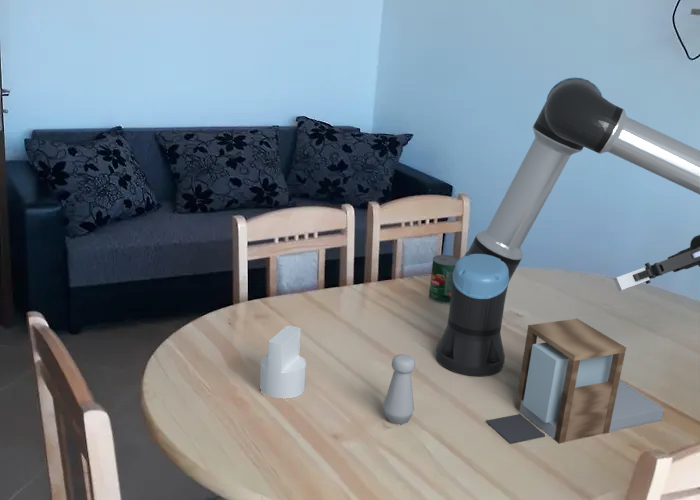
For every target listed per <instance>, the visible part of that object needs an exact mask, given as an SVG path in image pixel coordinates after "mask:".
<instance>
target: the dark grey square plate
mask: <svg viewBox="0 0 700 500" xmlns="http://www.w3.org/2000/svg"><path fill="white" fill-rule="evenodd" d="M485 423H486V424H487V425H489V426H490V428H492V429H493V430H494V431H495V432H496V433H497V434H498V435H500V436H501V437H502V439H504V440H505V441H506V442H508V444H510V445H512V444H516V443H522V442H525V441H531V440H535V439H540V438H544V437H546V434H545V433H543V431H541V430H540V428H537V426H535V425H534V424H533V423H531V422H530V421H529V419H528V418H526V417H525V416H523V415H522V414H521V413H518V414H517V413H516V414H511V415H508V416H502V417H495V418H492V419H491V418H490V419H486V420H485Z"/></svg>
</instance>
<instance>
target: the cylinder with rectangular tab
mask: <svg viewBox="0 0 700 500" xmlns="http://www.w3.org/2000/svg"><path fill="white" fill-rule="evenodd" d="M301 330H302V328H301V327H298V326H294V325H293V326H292V325H286V326H285V327H283V328H282V329H281V330H279V332H278V333H277V334H275V335H273V337H272V338H271V339H269V341H268V348H267V349H268V350H267V354H266V355H264V356H263V357H262V358H261V360H260V375H259V390H260V389H261V391H262V392H263V393H265V394H267V395H269V396H272V397H275V398H283V399H284V398H285V399H286V398H293V397H297V396H299V395H301V394H302V393H303V392H304V393H305V391H304V390H305V389H306V388H305V387H306V371H307V360H306V359H305V358H304V357H302V356H301V355H300V349H301V348H300V347H301V346H300V345H301ZM304 393H303V394H304Z"/></svg>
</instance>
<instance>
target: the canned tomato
mask: <svg viewBox="0 0 700 500" xmlns="http://www.w3.org/2000/svg"><path fill="white" fill-rule="evenodd" d="M460 258H461V257H460ZM460 258H459V257H457V256H453V255H448V254H437V255H434V256H433V257H432V264H431V273H430V285H429V293H428V299H430V300H431V301H433V302H435V303H439V304H443V303H444V304H445V305H448V304H449V305H450V301H451V293H452V285H453V271H454V269H455V265H456V263H457V261H458V260H459V259H460Z"/></svg>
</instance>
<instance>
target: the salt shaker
mask: <svg viewBox="0 0 700 500" xmlns="http://www.w3.org/2000/svg"><path fill="white" fill-rule="evenodd" d="M391 368H392V370H393V373H392V376H391V380H390V383H389V386H388V390H387V392H386V396H385V400H384V403H383V406H382V407H383V408H382V409H383V412H384V414H385V416H386V419H387V420H388V421H389V422H390V423H391V424H394V425H398V424H400V426H401V425H405V424H407V423H408V422H409V421H410V420H411V418H412V416H413V414H414V411H415V406H414V405H415V403H414V393H413V384H412V383H413V382H412V372H414V370H415V368H416V360H415V358H413V356H411V355H408V354H402V353H401V354H397V355H395V356H393V358H392V361H391Z"/></svg>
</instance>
